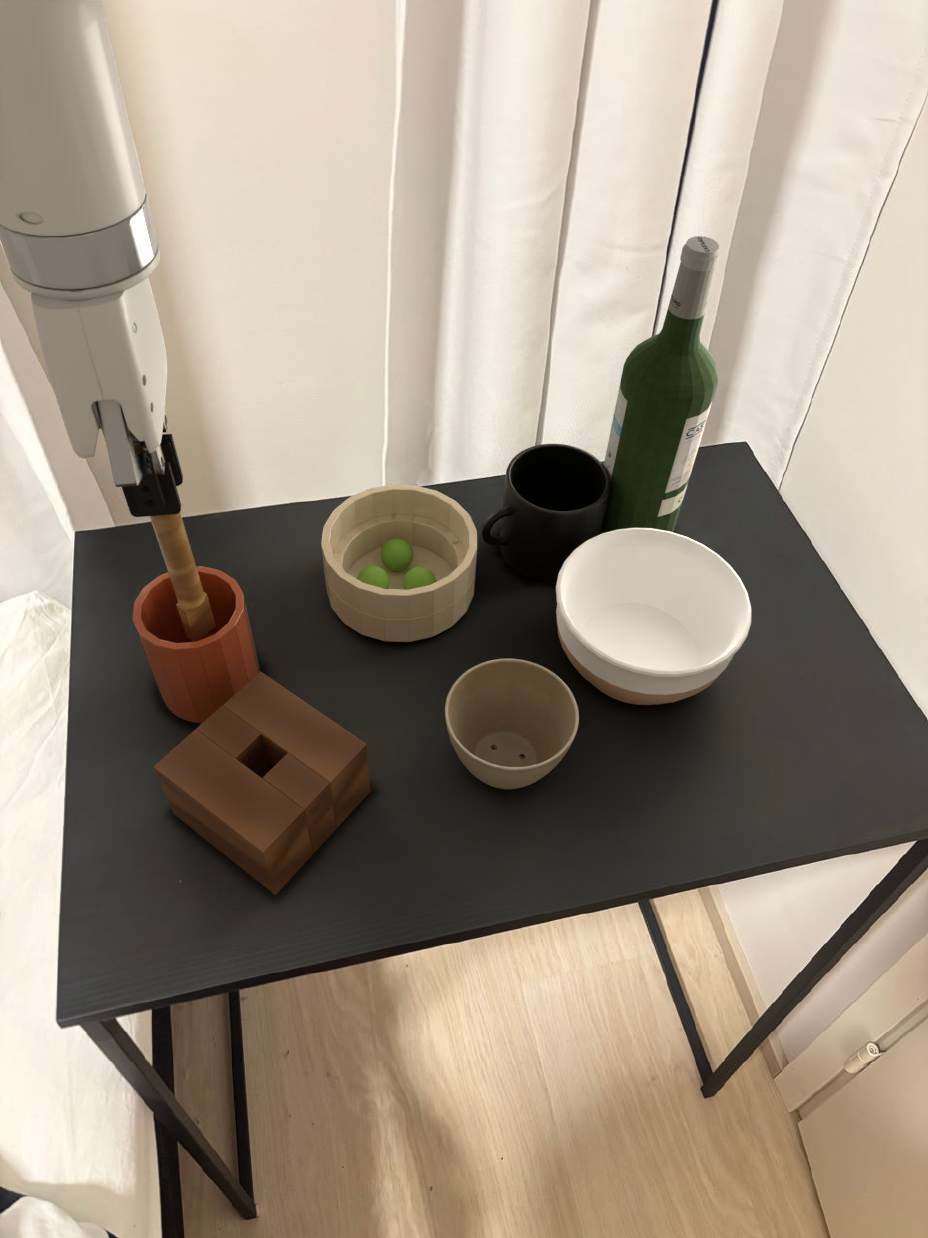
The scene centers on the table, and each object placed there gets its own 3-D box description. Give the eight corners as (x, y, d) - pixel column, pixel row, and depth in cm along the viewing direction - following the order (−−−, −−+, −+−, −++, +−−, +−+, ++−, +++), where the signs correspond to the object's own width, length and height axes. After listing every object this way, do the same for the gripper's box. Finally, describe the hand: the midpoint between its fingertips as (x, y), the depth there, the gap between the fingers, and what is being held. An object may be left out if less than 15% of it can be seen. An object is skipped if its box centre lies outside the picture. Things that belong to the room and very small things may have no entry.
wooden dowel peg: (199, 646, 72) (135, 447, 56) (182, 633, 73) (114, 433, 57) (221, 630, 73) (163, 429, 58) (204, 617, 74) (142, 416, 58)
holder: (275, 895, 66) (262, 852, 61) (173, 814, 70) (153, 767, 65) (370, 791, 72) (367, 744, 67) (271, 721, 76) (260, 670, 70)
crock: (209, 741, 74) (185, 666, 67) (140, 689, 77) (109, 612, 69) (280, 676, 79) (265, 599, 71) (212, 629, 82) (191, 551, 74)
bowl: (759, 708, 78) (788, 651, 72) (584, 750, 75) (598, 694, 69) (680, 572, 88) (700, 512, 82) (521, 604, 85) (529, 544, 79)
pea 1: (369, 610, 82) (379, 588, 80) (345, 589, 83) (354, 566, 81) (390, 597, 84) (400, 575, 82) (366, 576, 85) (376, 554, 83)
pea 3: (425, 604, 81) (409, 575, 81) (407, 607, 84) (391, 579, 83) (448, 586, 83) (432, 558, 82) (430, 590, 85) (414, 562, 85)
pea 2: (391, 578, 86) (389, 573, 83) (375, 551, 86) (373, 545, 84) (419, 563, 87) (418, 557, 84) (403, 535, 87) (402, 529, 84)
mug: (459, 534, 90) (462, 463, 83) (567, 503, 94) (579, 433, 87) (500, 602, 85) (507, 533, 78) (613, 567, 88) (630, 497, 81)
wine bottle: (676, 562, 89) (766, 274, 66) (594, 560, 89) (656, 270, 66) (664, 505, 94) (745, 219, 71) (587, 503, 94) (643, 215, 71)
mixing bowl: (412, 672, 79) (412, 620, 74) (297, 599, 84) (289, 545, 79) (501, 581, 86) (507, 528, 81) (390, 518, 91) (389, 464, 86)
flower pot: (588, 793, 73) (602, 745, 67) (470, 834, 70) (475, 787, 64) (535, 695, 78) (544, 643, 73) (425, 729, 76) (425, 678, 70)
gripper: (26, 166, 52) (111, 426, 66) (-26, 327, 42) (87, 592, 56) (162, 161, 53) (217, 419, 67) (144, 318, 43) (213, 581, 57)
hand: (157, 496), depth 62 cm, fingers closed on wooden dowel peg, 2 cm apart
